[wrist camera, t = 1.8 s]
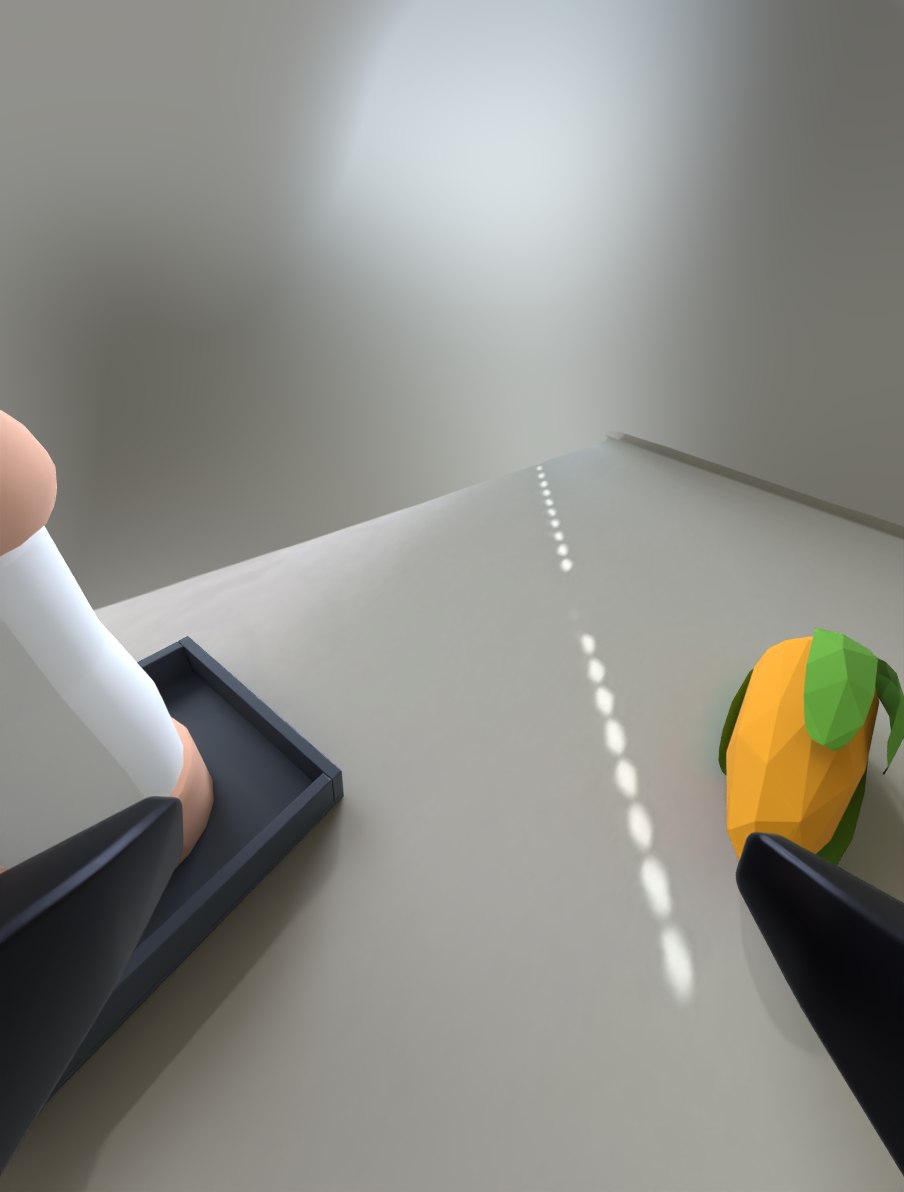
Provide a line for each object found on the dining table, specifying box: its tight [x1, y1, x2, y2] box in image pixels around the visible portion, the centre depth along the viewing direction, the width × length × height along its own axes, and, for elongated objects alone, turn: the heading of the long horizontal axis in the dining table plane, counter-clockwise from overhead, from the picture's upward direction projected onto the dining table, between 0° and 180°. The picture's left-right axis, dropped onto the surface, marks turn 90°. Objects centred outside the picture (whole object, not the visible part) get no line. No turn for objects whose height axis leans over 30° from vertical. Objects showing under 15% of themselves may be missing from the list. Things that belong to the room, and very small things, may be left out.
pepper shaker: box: [0, 410, 214, 873], centre depth 13 cm, size 7×7×19 cm
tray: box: [45, 636, 344, 1103], centre depth 19 cm, size 14×13×3 cm
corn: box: [719, 628, 904, 866], centre depth 24 cm, size 7×8×20 cm
